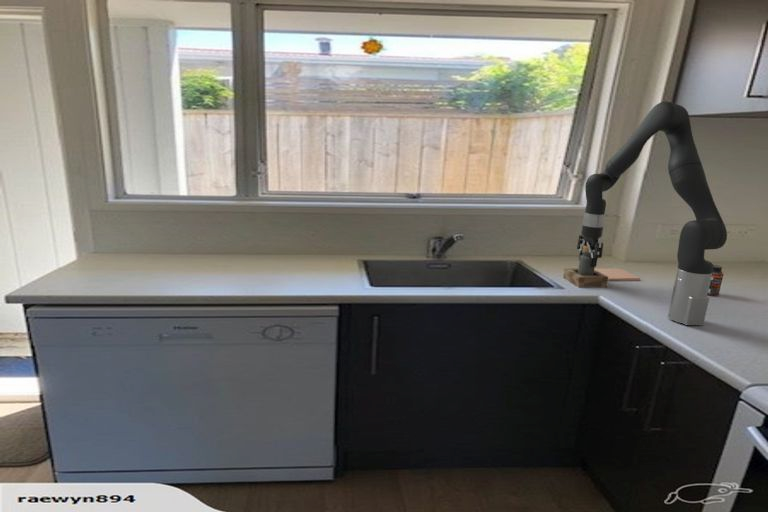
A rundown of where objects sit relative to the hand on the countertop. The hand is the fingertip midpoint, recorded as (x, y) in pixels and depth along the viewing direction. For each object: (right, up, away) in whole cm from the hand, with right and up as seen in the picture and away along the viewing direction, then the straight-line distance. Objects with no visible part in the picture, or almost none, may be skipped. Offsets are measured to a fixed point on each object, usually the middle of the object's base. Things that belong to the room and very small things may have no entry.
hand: (587, 263), depth 184 cm
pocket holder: (0, -7, +2) cm, 8 cm away
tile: (+17, -5, +11) cm, 21 cm away
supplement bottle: (+43, -12, -9) cm, 46 cm away
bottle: (0, -8, +2) cm, 8 cm away
